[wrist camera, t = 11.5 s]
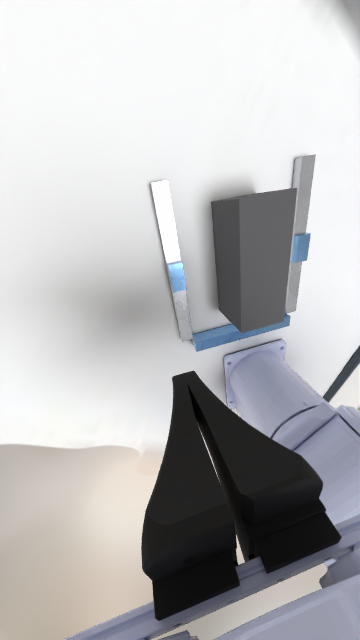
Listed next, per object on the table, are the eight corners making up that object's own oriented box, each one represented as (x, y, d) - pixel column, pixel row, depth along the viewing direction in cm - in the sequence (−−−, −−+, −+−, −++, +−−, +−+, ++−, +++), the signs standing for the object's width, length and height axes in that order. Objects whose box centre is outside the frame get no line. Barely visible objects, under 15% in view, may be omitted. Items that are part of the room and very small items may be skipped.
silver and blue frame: (375, 293, 26) (389, 297, 24) (182, 346, 23) (185, 354, 21) (427, 135, 18) (450, 130, 17) (150, 184, 15) (152, 181, 14)
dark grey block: (253, 300, 22) (283, 321, 18) (218, 309, 22) (241, 333, 18) (255, 193, 17) (297, 187, 13) (210, 202, 17) (239, 198, 13)
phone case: (344, 407, 39) (405, 335, 32) (352, 415, 37) (417, 341, 31) (309, 407, 36) (367, 329, 29) (316, 415, 34) (379, 335, 28)
